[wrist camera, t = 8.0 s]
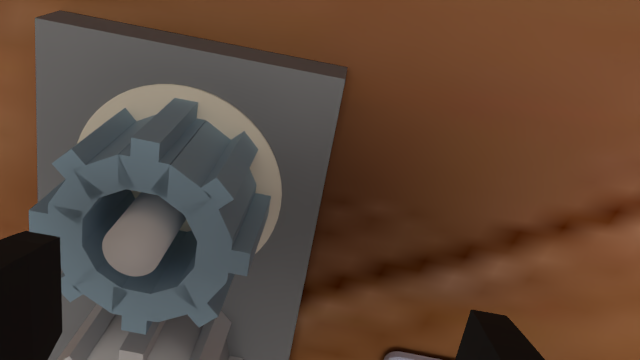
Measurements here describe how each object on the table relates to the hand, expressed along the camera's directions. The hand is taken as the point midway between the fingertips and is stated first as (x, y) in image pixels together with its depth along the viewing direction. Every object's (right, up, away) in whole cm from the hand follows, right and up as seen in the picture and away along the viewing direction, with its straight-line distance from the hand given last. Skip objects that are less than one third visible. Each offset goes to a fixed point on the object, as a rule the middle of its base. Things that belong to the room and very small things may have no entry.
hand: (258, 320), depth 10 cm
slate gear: (-3, +2, +8) cm, 9 cm away
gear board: (-4, -3, +12) cm, 14 cm away
